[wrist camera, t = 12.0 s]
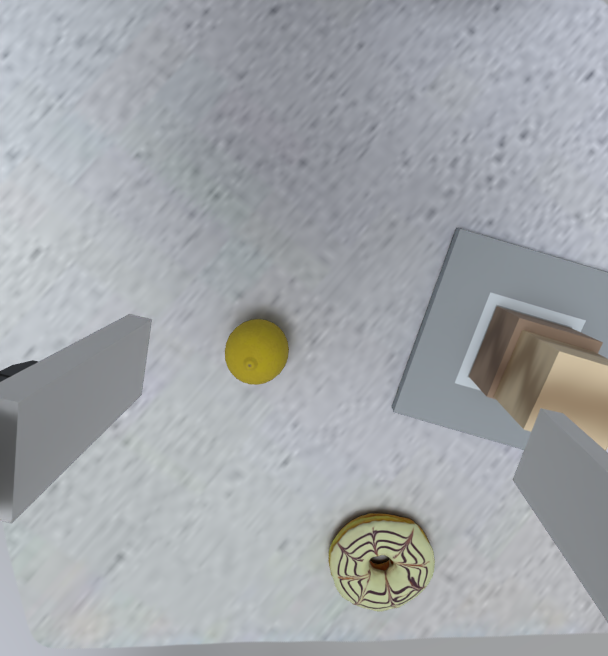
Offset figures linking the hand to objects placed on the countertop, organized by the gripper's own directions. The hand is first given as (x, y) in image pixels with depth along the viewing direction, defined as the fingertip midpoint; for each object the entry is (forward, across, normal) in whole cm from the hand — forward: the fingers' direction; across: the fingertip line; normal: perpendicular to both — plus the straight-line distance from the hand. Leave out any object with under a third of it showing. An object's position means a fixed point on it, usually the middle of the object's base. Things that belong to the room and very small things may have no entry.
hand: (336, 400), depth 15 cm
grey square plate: (+28, +18, -3) cm, 34 cm away
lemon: (+28, -5, -8) cm, 30 cm away
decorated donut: (+28, +12, -28) cm, 41 cm away
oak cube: (+22, +18, -3) cm, 29 cm away
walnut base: (+27, +18, -3) cm, 33 cm away
